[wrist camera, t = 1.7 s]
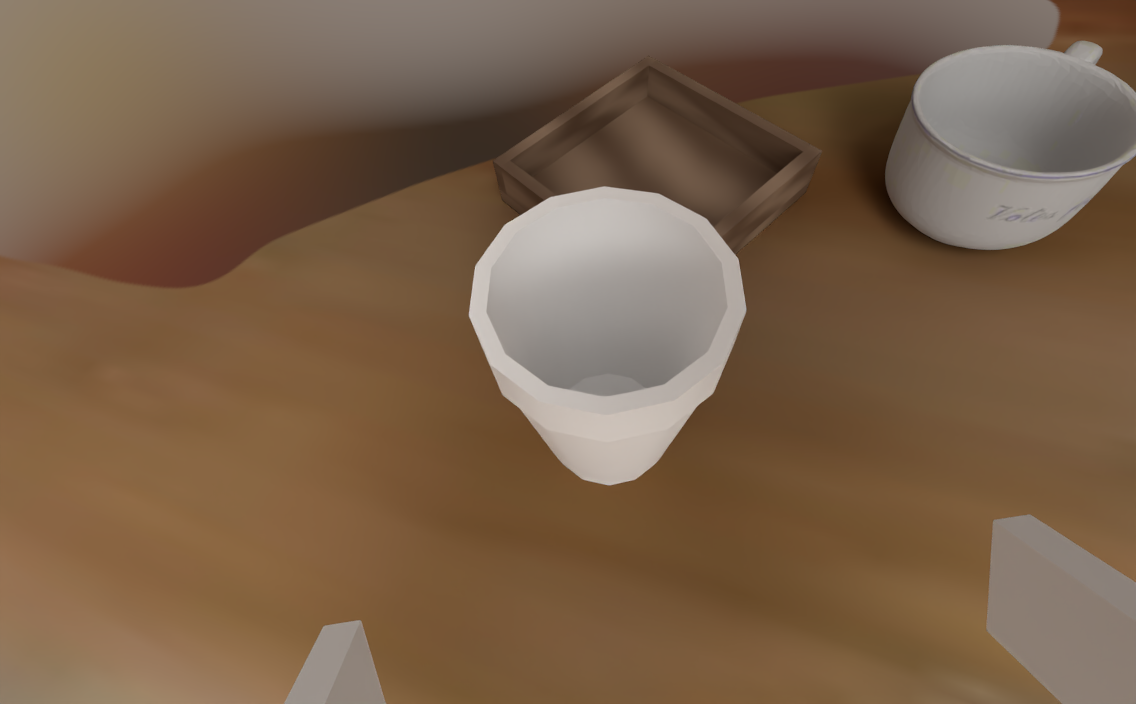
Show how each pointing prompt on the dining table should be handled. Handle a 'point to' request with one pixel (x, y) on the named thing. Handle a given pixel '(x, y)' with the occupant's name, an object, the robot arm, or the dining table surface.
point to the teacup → (1008, 143)
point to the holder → (664, 153)
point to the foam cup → (607, 323)
